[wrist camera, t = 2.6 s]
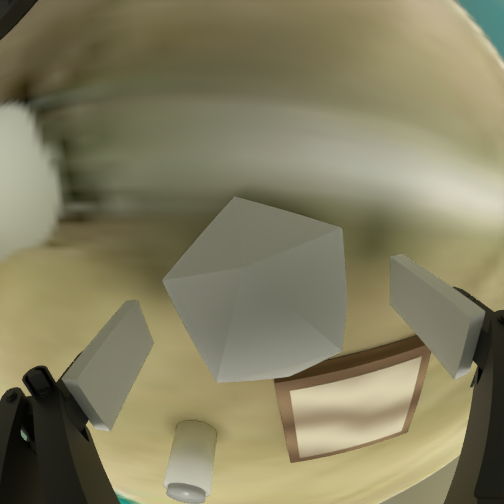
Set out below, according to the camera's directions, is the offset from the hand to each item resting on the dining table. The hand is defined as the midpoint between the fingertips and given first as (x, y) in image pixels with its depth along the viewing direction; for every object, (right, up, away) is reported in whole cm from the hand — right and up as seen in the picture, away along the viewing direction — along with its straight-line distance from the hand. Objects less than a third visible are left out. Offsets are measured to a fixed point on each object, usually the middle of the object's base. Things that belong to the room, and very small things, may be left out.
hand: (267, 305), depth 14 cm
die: (0, +2, +4) cm, 5 cm away
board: (+8, -11, +8) cm, 16 cm away
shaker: (-6, -15, +9) cm, 19 cm away
